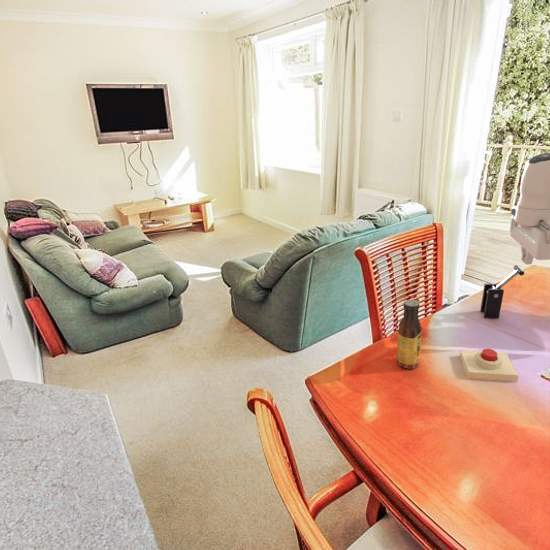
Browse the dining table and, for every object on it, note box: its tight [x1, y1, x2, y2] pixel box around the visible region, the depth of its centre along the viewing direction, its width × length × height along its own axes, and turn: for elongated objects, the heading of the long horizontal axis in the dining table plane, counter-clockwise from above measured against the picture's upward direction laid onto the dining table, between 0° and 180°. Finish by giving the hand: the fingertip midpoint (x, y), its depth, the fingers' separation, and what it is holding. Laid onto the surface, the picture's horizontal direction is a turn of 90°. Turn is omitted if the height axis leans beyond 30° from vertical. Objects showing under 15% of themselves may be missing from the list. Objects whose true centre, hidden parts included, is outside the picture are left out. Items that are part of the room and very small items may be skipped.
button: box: [481, 348, 498, 361], centre depth 102 cm, size 4×4×2 cm
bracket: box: [479, 282, 505, 320], centre depth 125 cm, size 12×9×12 cm
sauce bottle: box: [396, 299, 423, 370], centre depth 105 cm, size 6×6×20 cm
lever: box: [487, 264, 525, 293], centre depth 121 cm, size 12×5×2 cm
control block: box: [459, 349, 520, 383], centre depth 103 cm, size 12×10×4 cm
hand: (526, 262), depth 107 cm, fingers closed
